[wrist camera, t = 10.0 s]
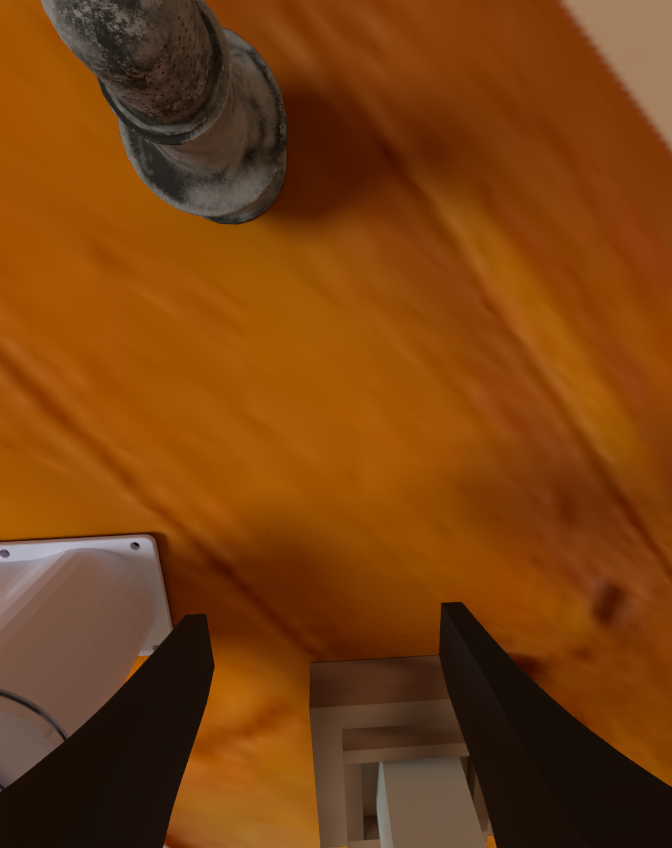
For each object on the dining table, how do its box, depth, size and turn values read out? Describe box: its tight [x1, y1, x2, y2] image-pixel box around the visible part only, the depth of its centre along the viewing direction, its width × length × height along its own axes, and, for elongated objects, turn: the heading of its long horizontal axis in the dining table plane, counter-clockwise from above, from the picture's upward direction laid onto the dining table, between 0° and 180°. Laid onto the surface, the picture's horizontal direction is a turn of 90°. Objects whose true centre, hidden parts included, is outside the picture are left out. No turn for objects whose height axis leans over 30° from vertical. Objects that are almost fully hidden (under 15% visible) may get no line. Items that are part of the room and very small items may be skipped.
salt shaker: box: [41, 0, 287, 224], centre depth 12 cm, size 6×6×12 cm
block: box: [376, 756, 487, 848], centre depth 22 cm, size 4×4×6 cm
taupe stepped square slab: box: [309, 655, 494, 848], centre depth 26 cm, size 12×12×4 cm
